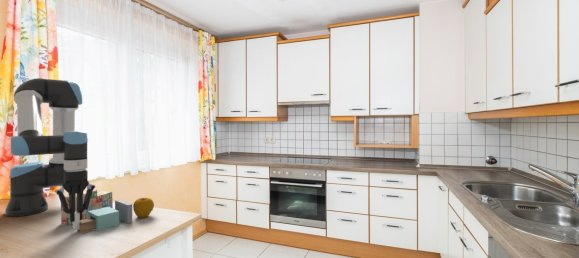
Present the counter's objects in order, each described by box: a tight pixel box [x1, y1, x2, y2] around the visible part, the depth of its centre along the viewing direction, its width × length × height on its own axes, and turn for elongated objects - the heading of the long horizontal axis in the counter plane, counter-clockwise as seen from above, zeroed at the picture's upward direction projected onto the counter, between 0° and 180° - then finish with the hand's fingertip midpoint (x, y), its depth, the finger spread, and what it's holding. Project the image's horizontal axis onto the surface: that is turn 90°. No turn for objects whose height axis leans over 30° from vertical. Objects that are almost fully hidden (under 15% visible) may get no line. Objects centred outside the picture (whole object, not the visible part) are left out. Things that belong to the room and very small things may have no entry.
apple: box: [132, 197, 155, 219], centre depth 130 cm, size 8×8×9 cm
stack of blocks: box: [60, 189, 114, 226], centre depth 129 cm, size 21×6×12 cm, turn 171°
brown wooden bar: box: [76, 217, 97, 234], centre depth 115 cm, size 4×10×4 cm, turn 145°
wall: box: [114, 199, 133, 224], centre depth 125 cm, size 12×2×8 cm, turn 55°
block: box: [88, 207, 120, 231], centre depth 119 cm, size 10×8×6 cm
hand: (76, 228), depth 111 cm, fingers closed
